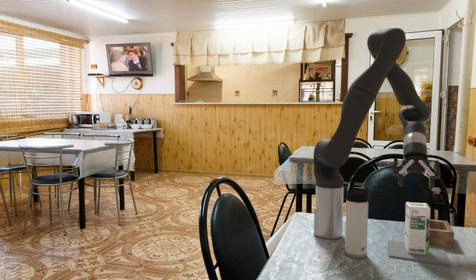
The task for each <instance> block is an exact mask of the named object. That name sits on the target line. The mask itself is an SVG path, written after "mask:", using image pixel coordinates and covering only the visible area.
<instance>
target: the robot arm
mask: <svg viewBox="0 0 476 280" xmlns="http://www.w3.org/2000/svg"><path fill="white" fill-rule="evenodd" d="M406 36H407V35H406V32H405V30H403V29H402V28H399V27H390V28H380V29H376V30H373V31H371V32H370V33H369V35H368V37H367V40H366V41H367V42H366V43H367V45H366V46H367V49H368V51H369V53H370V55H371V57H372V58H373V59H374V60H373V61H372V63H371V64H370V65H369V66H368V67H367V68H366V69H365V70H364V71H363V72H362V73H361V74H359V75H358V76H357V78H355V79H354V81H352V83H350V86H349V87H348V90H347V92H346V94H345V95H344V98H343V100H342V104H341V110H340V119H339V123H338V125H337V128H336V130H335V131H334V134H333V135H332V136H331V138H322V139H320V140H319V141H317V142H316V144H315V146H314V149H313V176H314V179H315V206H314V209H313V236H317V237H320V238H323V239H327V240H328V239H329V240H332V239H334V240H336V239H340V238H342V237H343V226H344V225H343V222H344V221H343V219H344V188H345V187H344V185H345V184H344V181H345V179H344V177H343V176H342V175H341V173H340V169H339V168H340V167H343V165H345V163H346V162H347V161H348V159H349V157H350V155H351V152H352V149H353V148H354V147H353V146H354V144H355V141H356V139H357V136H358V134H359V132H360V130H361V127H362V126H363V124H364V122H365V120H366V117H367V115H368V113H369V112H370V111H371V108H372V106H373V104H374V102H375V101H376V98H377V96H378V94H379V92H380V89H381V88H382V86H383V84H384V82H385V81H386V80H387V81H388V83H389V85H390V87H391V89H392V91H393V94H394V96H395V99H396V101H397V103H398V104H399V105H400V106H403V107H401V108H400V109H399V111H398V118H399V121H400V122H401V125H402V129H403V142H402V144H403V146H402V150H403V151H402V152H403V153H402V154H403V155H402V156H403V157H402V158H403V159H402V160H401V159H398V158H397V157H394V159H393V165H392V176H393V177H397V179H398V180H397V182H398V186H400V188H403V187H404V176H406V175H407V174H409V173H410V174H423V175H424V176H425V177H427V178H428V186H429V188H428V189H429V190H433V189H434V188H435V185H436V183H435V182H436V181H435V180H440V179H441V174H442V173H441V166H440V162H439V160H438V159H435V160H434V161H430V160H429V159H428V158H429V156H428V142H427V137H426V135H427V134H426V126H425V125H424V123H423V122H427V121H428V120H429V119H430V117H431V111H430V108H429V107H428V105H427V104H426V103H425V101H424V100H423V99H422V98H421V97H420V95H419V94H418V92H417V90H416V86H415V85H414V82H413V81H412V79H411V77H410V76H409V75H408V73H407V72H406V71H405V70H404V69H403V68H402V67H401V66H400V65H399V64H398V63H397V60H398V59H399V57H400V56H401V54H402V52H403V50H404V48H405V45H406V41H407V37H406ZM401 165H402V166H403V167H402V168H401V169H400V170H398V167H400V166H401ZM430 167H431V168H432V169H433V170H434V172H433V171H432V169H431V168H430Z"/></svg>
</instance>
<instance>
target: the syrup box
mask: <svg viewBox="0 0 476 280" xmlns="http://www.w3.org/2000/svg"><path fill="white" fill-rule="evenodd" d="M404 215H405V222H404V242H405V244H404V246H405V248H406V250H407V252H408V253H414V254H423V255H428V254H429V230H430V219H431V206H429V204H428V203H426V202H410V201H406V202H405V214H404Z"/></svg>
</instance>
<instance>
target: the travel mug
mask: <svg viewBox="0 0 476 280" xmlns="http://www.w3.org/2000/svg"><path fill="white" fill-rule="evenodd" d="M369 193H371V191H370V188H353V189H348V190H347V191H346V199H345V202H346V203H345V230H344V232H345V233H344V235H345V236H344V254H345V256H347V257H350V258H353V259H363V258H365V257H367V255H368V251H367V250H368V225H369V224H368V223H369V222H368V220H369Z"/></svg>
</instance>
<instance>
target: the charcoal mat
mask: <svg viewBox="0 0 476 280" xmlns="http://www.w3.org/2000/svg"><path fill="white" fill-rule="evenodd" d="M404 244H405V241H396V240H391V239H390V240H389V239H387V253H388V258H394V259H401V260H408V261H414V262H422V263H429V264H436V265H442V266H450V267H451V266H452V264H451V261H450V259H449V257H448V255H447V252H446V250H445V247H440V246H432V245H429V254H428V255H423V254H414V253H408V252H407V250H406V248H405V246H404Z"/></svg>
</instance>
